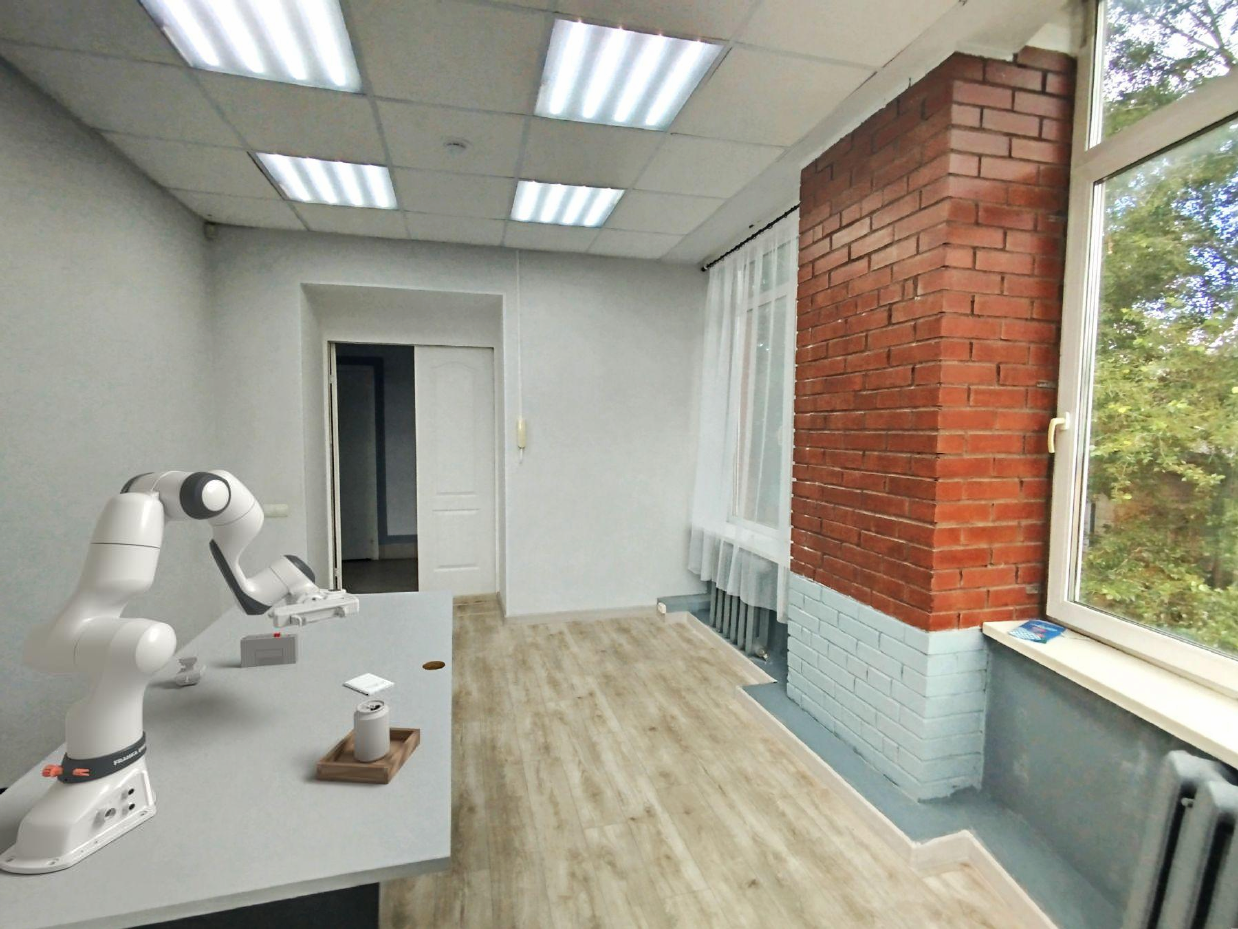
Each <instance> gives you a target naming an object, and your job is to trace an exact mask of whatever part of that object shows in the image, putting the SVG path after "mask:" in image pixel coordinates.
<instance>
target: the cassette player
mask: <svg viewBox="0 0 1238 929" xmlns="http://www.w3.org/2000/svg"><path fill="white" fill-rule="evenodd" d="M298 635H299V634H298V633H288V634H281V632H271V633H257V634H254V633H253V634H246V635H245V636H244V637H243V638H241V639H240V641H239V642H240V667H241V669H244V668H247V669H248V668H257V667H258V666H259V667H269V666H281V665H294V664H296V663H298V662H299V643H298V642H299V640H298V639H299V638H298V637H299V636H298Z"/></svg>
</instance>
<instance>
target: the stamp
mask: <svg viewBox="0 0 1238 929" xmlns="http://www.w3.org/2000/svg"><path fill="white" fill-rule="evenodd" d="M199 659H200V652H192V653H185V654H180V656H179V658H178V662H179V664H180V665H181V666H182V668H181V669H180V670H179V671H178V672H177V674H175V676H174V678H173V682H174V683H176V684H177V685H178V686H181V687H182V686H187V685H188V686H190V685H195V684H198V683H199V682H200V680H201V679H202V678H203V676H204V674H205V672H206V671H207V669H208V667H207V666H206V665H205V664H203V665H196V663H197V662H198V661H199ZM184 666H185V667H184Z"/></svg>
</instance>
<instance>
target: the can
mask: <svg viewBox="0 0 1238 929" xmlns="http://www.w3.org/2000/svg"><path fill="white" fill-rule="evenodd" d="M389 727H390V708H389V706H388V705H387V702H386V701H385V700H383V699H379V698H374V699H373V698H372V699H367V700H365V701H362V702H360V703H359V704H358V705H357V707H356V709H355V711H354V713H353V729H354V756H355V758H356V759H358V760H359V761H361V762H366V763H369V762H374V761H377V760H379V759H381V758H383V757H384V756H385V755H386V754H387V753H388V751H389V749H390V736H389Z"/></svg>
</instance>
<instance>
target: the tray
mask: <svg viewBox="0 0 1238 929" xmlns="http://www.w3.org/2000/svg"><path fill="white" fill-rule="evenodd" d="M389 736H390V749H389V751H388V753H387V754H386V755H385V756H384V757H383V758H381V759H379V760H377V761H374V762H369V763H366V762H361V761H359V760H358V759H356V758H355V756H354V728H352V729H351V731H349V732H348V734H346V735H345V736H344V738H342V739H341V740H340V741H339V742H338V743H337V744H336V745H335V746H334V747H333V748H332V749H331V750H330V751H329V752H328V753H327V754H326V755H325V756H324V757H322V758H321V759H320V760H319V761H318V762H317V763H316V777H317V778H316V780H320V781H335V782H336V781H338V782H353V783H367V784H368V783H371V784H386V785H387V784H388V785H389V783H390V782H391V781H392V780H393V778H394V777H395V776H396V774H398V772H399V771H400V769H401V768H402V767H403V766H404V765H405V763H406V762H407V760H408V759H409V758H410V756H412V754H413V753H414V752H415V751H416V749H417V748H418V747H419V745H420V744H421V729H420V728H408V727H407V728H406V727H391V726H389ZM416 747H417V748H416Z"/></svg>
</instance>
